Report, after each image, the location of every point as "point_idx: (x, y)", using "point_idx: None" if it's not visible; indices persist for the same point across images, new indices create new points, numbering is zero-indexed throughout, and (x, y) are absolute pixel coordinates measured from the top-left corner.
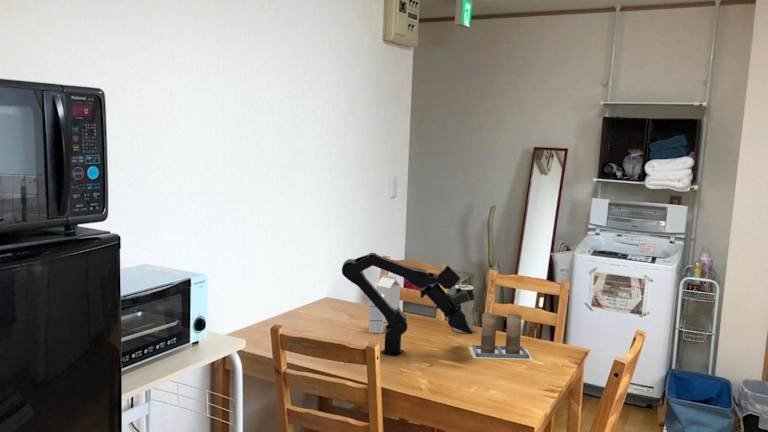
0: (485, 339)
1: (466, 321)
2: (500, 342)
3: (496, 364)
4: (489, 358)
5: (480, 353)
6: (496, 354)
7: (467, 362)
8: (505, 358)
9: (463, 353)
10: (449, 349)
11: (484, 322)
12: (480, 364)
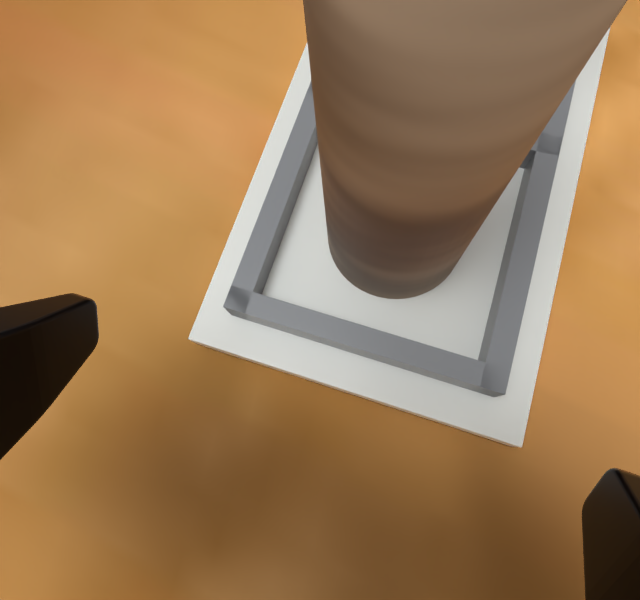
0: (482, 217)
1: (30, 331)
2: (119, 18)
3: (628, 268)
4: (553, 287)
5: (504, 347)
6: (548, 201)
7: (547, 526)
8: (566, 149)
9: (283, 441)
10: (132, 536)
11: (560, 38)
12: (618, 416)
